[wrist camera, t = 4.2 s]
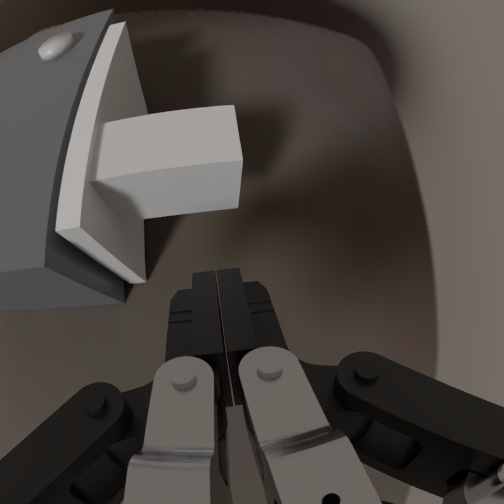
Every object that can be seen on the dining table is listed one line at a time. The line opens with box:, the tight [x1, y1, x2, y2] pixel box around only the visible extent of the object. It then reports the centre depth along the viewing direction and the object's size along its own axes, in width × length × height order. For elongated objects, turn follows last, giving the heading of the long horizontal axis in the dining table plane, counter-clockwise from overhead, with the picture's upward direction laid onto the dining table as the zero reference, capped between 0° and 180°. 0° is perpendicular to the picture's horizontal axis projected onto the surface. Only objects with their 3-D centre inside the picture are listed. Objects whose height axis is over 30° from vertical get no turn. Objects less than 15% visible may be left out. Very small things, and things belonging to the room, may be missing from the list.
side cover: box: [55, 21, 243, 284], centre depth 13 cm, size 6×12×8 cm, turn 8°
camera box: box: [0, 9, 125, 311], centre depth 12 cm, size 10×17×9 cm, turn 8°
